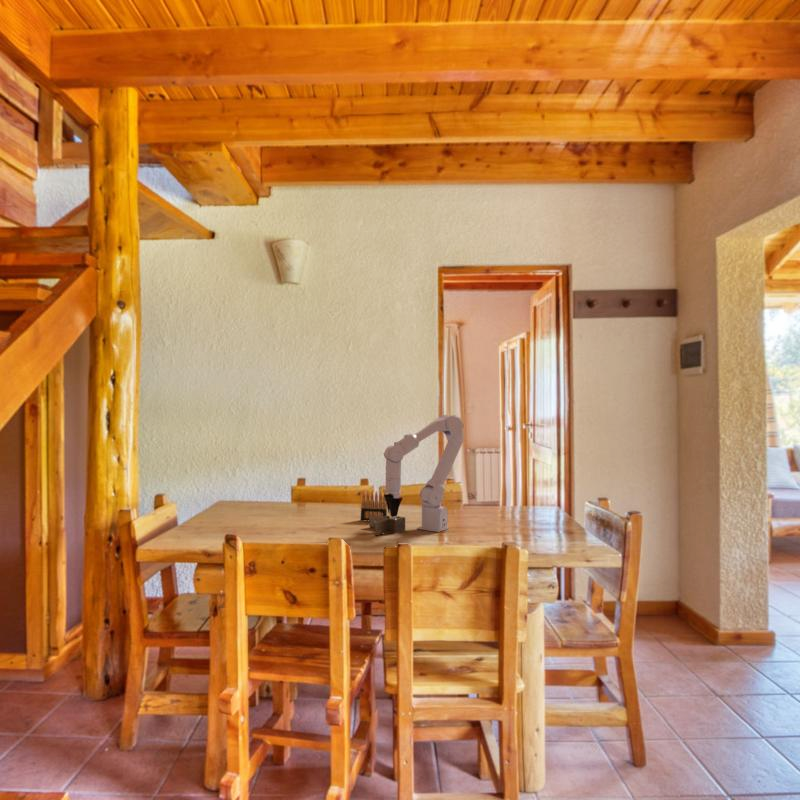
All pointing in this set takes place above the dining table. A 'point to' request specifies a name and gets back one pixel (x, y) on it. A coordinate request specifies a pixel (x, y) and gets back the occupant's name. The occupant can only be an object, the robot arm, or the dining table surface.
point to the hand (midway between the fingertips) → (392, 514)
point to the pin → (392, 516)
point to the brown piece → (386, 524)
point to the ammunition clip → (373, 505)
